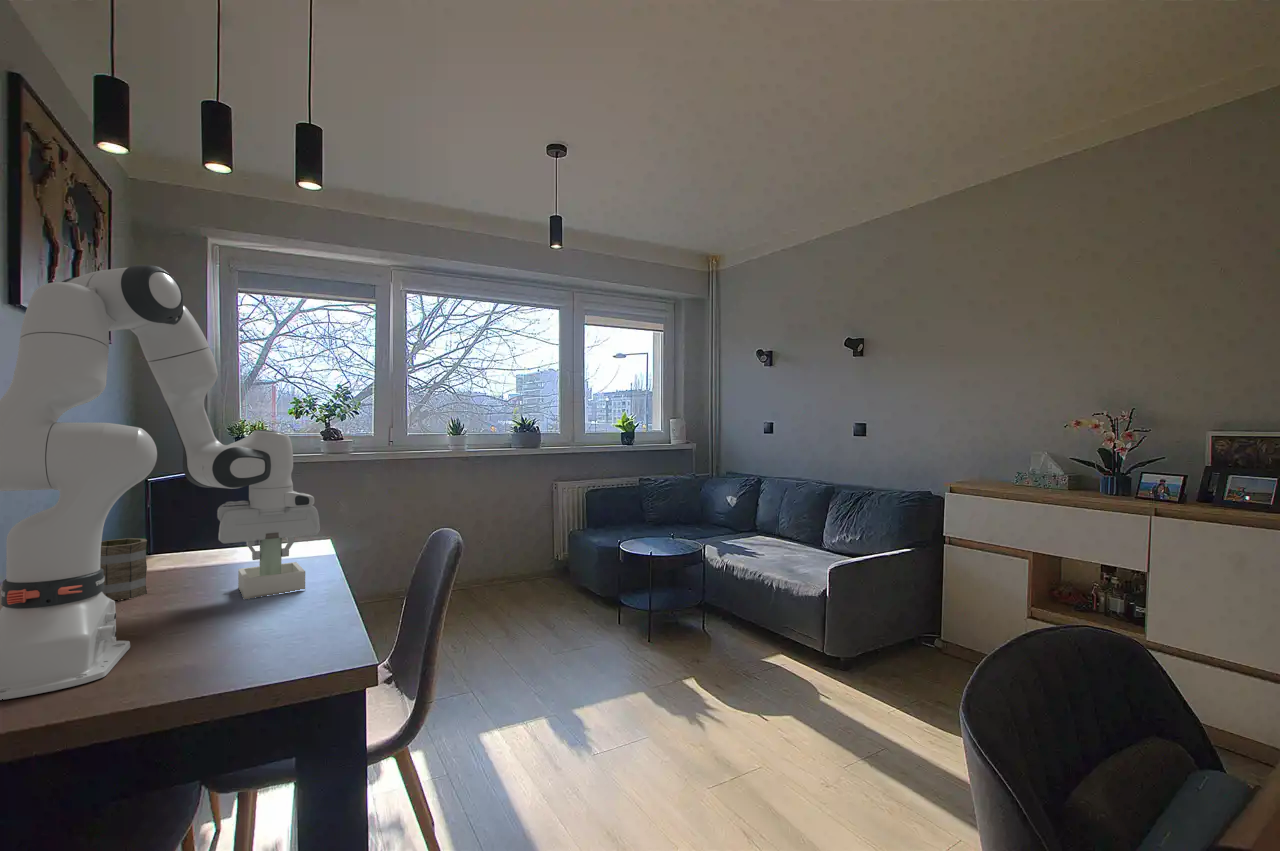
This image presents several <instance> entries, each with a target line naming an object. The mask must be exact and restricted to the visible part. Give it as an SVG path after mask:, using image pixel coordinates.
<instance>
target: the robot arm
mask: <svg viewBox="0 0 1280 851" xmlns="http://www.w3.org/2000/svg"><path fill="white" fill-rule="evenodd" d="M184 300H185V299H184V294H183V290H182V288H181V286H180V284H179V282H178V281H177V279H176V278H175V277H174V276H173V275H171V274H170V273H169V272H168V271H166V270H165V269H163V267H161V266H156V265H153V264H152V265H150V264H149V265H148V264H135V265H131V266H128V267H122V268H121V267H119V268H111V269H102V270H97V271H92V272H88V273H85V274H83V275H80V276H77V277H69V278H67V279H64V280H62V281H57V282H56V281H54V282H48V283H45V284H42V285H40V286H39V287H37V288H36V289H35V290H34V292H33V293H32V295H31V297H30V300H29V301H28V305H27V308H26V310H25V313H24V317H23V320H22V325H21V329H20V335H19V344H18V352H17V358H16V359H17V360H16V364H15V368H14V372H13V377H12V380H11V383H10V385H9V387H8V389H7V390H6V392H5V393H4V395H3V396H2V397H1V398H0V492H15V491H17V492H20V491H41V490H42V491H45V490H54V491H59V496H58V500H57V502H56V503H55V505H53V506H51V507H49V508H46V509H44V510H41V511H38V512H36V513H33V514H32V515H30V516H27V517H25V518H23V519H22V520H20V521H18V522H17V523H16V524H15V525H13V526H12V527H11V528H10V530H9V531H8V533H7V536H6V557H5V558H6V560H5V561H6V562H5V563H6V568H5V571H6V575H5V576H6V578H5V579H4V580H3V581H2V586H1V589H0V596H1V599H0V605H1V606H2V607H1V608H0V701H3V700H4V701H5V700H9V699H10V700H11V699H17V698H22V697H27V696H34V695H38V694H39V695H40V694H43V693H48V692H55V691H59V690H62V689H67V688H72V687H75V686H76V687H77V686H80V685H83V684H87V683H90V682H93V681H97V680H99V679H102V678H104V677H105V676H107V675H108V674H109V673H110V671H111V670H112V669H113V668H114V667H115V666H116V665H117V664H118V663H119V661H120V660H121V659H122V657H123V656H125V655H126V653H127V652H128V651H129V650H130V649H131V642H130V641H129V640H117V623H116V621H117V620H116V619H117V612H116V601H114V600H112V599H110V598H108V597H107V596H105V595H104V594H103V592H102V591H103V589H104V581H105V577H104V570H103V569H102V568H100V558H101V542H102V541H103V533H104V525H105V523H106V519H107V518H108V515H109V513H110V511H111V509H113V506H114V505H115V504H116V502H117V501H118V500H119V499H120V498H121V497H122V496H123V495H124V494H125V493H126V492H127V491H129V490H130V489H131V488H133V487H134V486H135V485H137V484H139V483H140V482H142V481H144V480H145V479H146V478H147V477H148V476H149V475H150V474H151V473H152V471H153V470H154V468H155V466H156V463H157V459H158V450H157V445H156V443H155V441H154V439H153V437H152V436H151V435H150V434H149V433H148V432H147V431H146V430H145V429H143V428H141V427H138V426H130V425H127V424H119V423H112V422H68V421H67V422H63V421H62V422H58V419H59V418H60V417H61V416H62V415H64V414H65V413H67V411H70V410H71V409H73V408H76V407H79V406H82V405H84V404H88V403H91V402H92V401H94V400H95V399H97V398H98V397H99V396H100V395H101V394H103V392H104V391H105V389H106V387H107V381H108V380H107V376H108V367H109V366H108V363H109V353H110V352H109V351H110V349H109V348H110V332H112V331H121V330H130V331H131V332H132V333H133V334H135V336H136V337H137V339H138V343H139V345H140V349H141V350H142V353H143V355H144V356H143V357H145V360H146V361H147V364H148V366H149V368H150V371H151V373H152V375H153V377H154V379H155V380H156V383H157V384H158V386H159V389H160V391H161V394H162V396H163V399H164V401H165V404H166V407H167V410H168V413H169V415H170V418H171V421H172V423H173V426H174V429H175V431H176V434H177V436H178V439H179V442H180V445H181V447H182V448H181V449H182V470H183V474H184V476H185V478H186V479H187V480H188V481H189V482H190V483H192V484H193V485H195V486H197V487H199V488H209V489H210V488H219V489H231V490H232V489H240V488H245V487H248V500H238V501H226V502H225V503H223V504H221V505H219V507H218V508H217V510H216V512H217V513H216V518H217V520H218V521H219V527H218V541H219V542H221V543H222V544H232V543H233V544H235V543H244V542H245V543H246V546H247V548H248V549H249V550H250V552H251V560H252V561H260V550H255V548H254V547H253V546H255V544H256V541H260V540H265V537H266V534H268V533H279V538H282V539H286V541H287V543H286V544H285V547H284V548H283V547H282V558H285V557H289V556H290V549H291V548H292V546H293V545H294V543H295V538H296V537H305V536H315V535H318V533H319V532H320V530H321V526H320V524H321V523H320V516H319V511H318V509H317V508H316V506H314V504H315V502H316V501H315V497H314V496H313V495H311V494H309V493H304V492H301V491H295V490H294V483H293V481H292V473H293V471H294V470H293V469H294V452H293V451H294V450H293V443H292V439H291V437H290V436H289V435H288V434H287V433H285V432H281V431H277V430H269V429H256V430H253V431H252V433H250V434H248V435H247V436H245V437H244V438H241V439H239V440H237V441H235V442H232V443H231V442H230V443H229V444H223V443H221V442H220V441H219V440H218V439H217V437H216V436H215V433H214V431H213V428H212V425H211V422H210V420H209V417H208V414H207V411H206V409H205V398H206V396H207V394H208V392H209V391H210V390H211V389H212V388H213V387H214V385H215V384H216V382H217V380H218V377H219V373H218V372H219V371H218V366H217V362H216V359H215V357H214V353H213V352H212V349H211V347H210V345H209V342H208V341H207V338H206V336H205V335H204V332H203V331H202V329H201V327H200V325H199V323H198V322H197V320H196V319H195V317H194V316H193V314H192V313H191V312H190V311H189V309H188V308H187V307H186V306H185V301H184ZM2 699H3V700H2Z"/></svg>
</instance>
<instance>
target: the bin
mask: <svg viewBox="0 0 1280 851" xmlns="http://www.w3.org/2000/svg"><path fill="white" fill-rule="evenodd" d="M259 566H260V565H258V566H252V567H251V566H250V567H243V568H241V567H240V568H238V573H237V575H238V580H237V581H238V582H237V586H238V587H237V588H239V589H238V591H239V590H240V591H239V593H240V592H241V593H240V595H241V594H242V595H241V597H242V596H243V597H242V599H243V598H244V599H248V600H251V599H250V598H255V597H261V596H267V595H273V594H279V593H285V592H290V591H295V590H300V589H305V590H306V570H305V569H304V568H303V567H302V566H301V565H300V564H299V563H298V562H297V561H292V562H285V563H284V562H283V563H281V574H273V575H265V576H259ZM261 598H262V597H261ZM244 599H243V600H244ZM255 599H256V598H255Z"/></svg>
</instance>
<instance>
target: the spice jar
mask: <svg viewBox="0 0 1280 851" xmlns="http://www.w3.org/2000/svg"><path fill="white" fill-rule="evenodd" d="M282 542H283V538H279V533H268V534H266V537H265V540H259V551H260V559H259V565H258V566H259V576H265V575H273V574H281V564H282V562H283V561H282V559H283V557H282V548H283V545H282V544H283V543H282Z"/></svg>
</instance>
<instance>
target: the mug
mask: <svg viewBox="0 0 1280 851" xmlns="http://www.w3.org/2000/svg"><path fill="white" fill-rule="evenodd" d="M147 546H148V540H147V538H133V537H130V538H128V537H127V538H118V539H108V540H107V539H106V540H102V542H101V558H100V568H102V569H103V570H104V577H105V581H104V589H103V591H102V592H103V594H104V595H105V596H107V597H108V598H110V599H112V600H114V601H115V600H121V599H128V600H130V599H129V598H133V599H135V598H134V597H136V598H138V597H137V596H139V597H142V596H144V594H145V595H147V594H148V592H147V572H148V570H147V569H148V566H147V563H148V562H147ZM141 595H142V596H141ZM121 601H122V600H121ZM115 602H116V601H115Z"/></svg>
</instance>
